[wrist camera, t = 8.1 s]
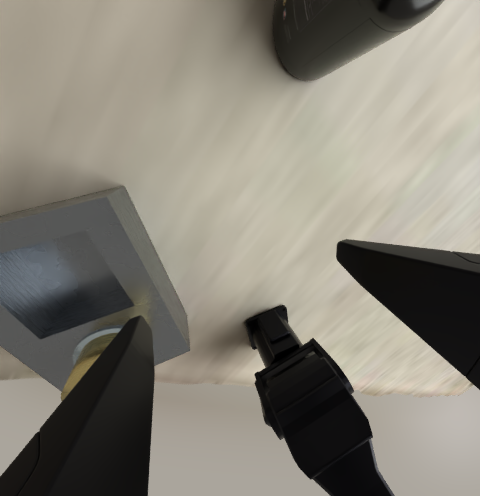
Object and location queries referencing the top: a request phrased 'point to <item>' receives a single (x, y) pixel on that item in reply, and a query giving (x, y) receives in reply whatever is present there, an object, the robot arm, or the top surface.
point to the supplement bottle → (339, 30)
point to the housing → (82, 282)
